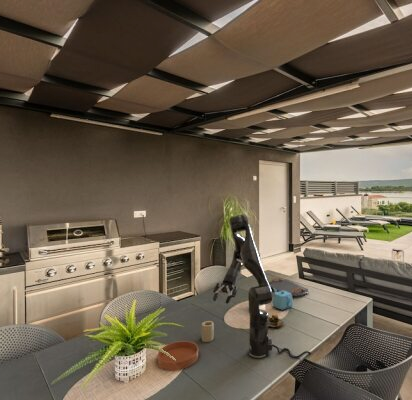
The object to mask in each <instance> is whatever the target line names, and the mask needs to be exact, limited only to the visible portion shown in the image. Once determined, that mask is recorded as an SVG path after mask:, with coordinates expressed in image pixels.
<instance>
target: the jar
mask: <svg viewBox="0 0 412 400" xmlns="http://www.w3.org/2000/svg"><path fill="white" fill-rule="evenodd" d="M214 328H215V323H214V321H212V320H206V321H203V322H202V323H201V341H202V342H203V343H210V342H212V341H213V340H214V336H215V335H214V333H215V332H214V331H215V329H214Z"/></svg>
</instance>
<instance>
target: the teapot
mask: <svg viewBox="0 0 412 400" xmlns="http://www.w3.org/2000/svg"><path fill="white" fill-rule="evenodd" d="M272 289H273V291H274V294H273V295H272V302H271V303H272V304H271V305H272V307H274V308H276V309H278V310H280V309H282V310H281V311H285V310H287V309H290V308H291V307H293V305H294V300H293V299H294V298H293V296H292V295H291V293H289V292H287V291H280V292H278V291H276V289H275V288H272ZM286 308H287V309H286Z"/></svg>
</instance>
